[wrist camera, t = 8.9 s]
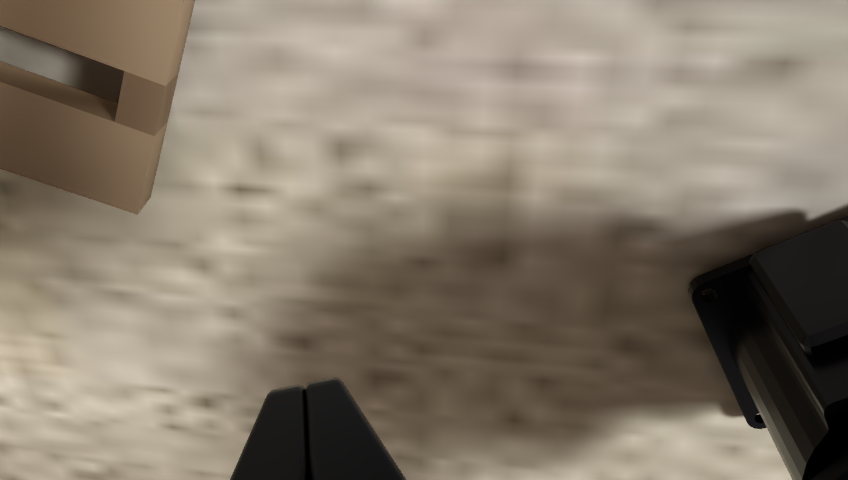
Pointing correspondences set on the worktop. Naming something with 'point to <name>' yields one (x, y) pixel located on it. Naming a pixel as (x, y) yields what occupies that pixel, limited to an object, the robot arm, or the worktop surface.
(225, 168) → the worktop surface
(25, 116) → the slotted wooden board
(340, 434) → the robot arm
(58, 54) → the worktop surface
